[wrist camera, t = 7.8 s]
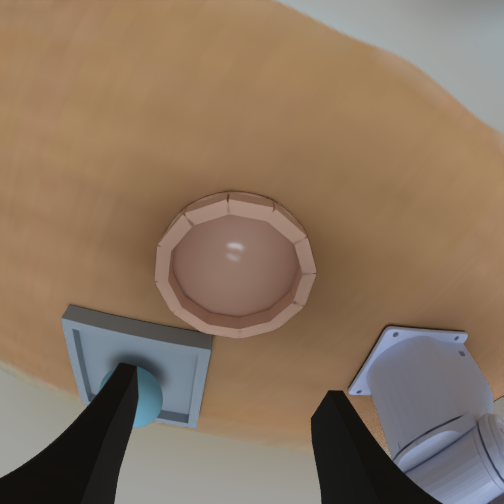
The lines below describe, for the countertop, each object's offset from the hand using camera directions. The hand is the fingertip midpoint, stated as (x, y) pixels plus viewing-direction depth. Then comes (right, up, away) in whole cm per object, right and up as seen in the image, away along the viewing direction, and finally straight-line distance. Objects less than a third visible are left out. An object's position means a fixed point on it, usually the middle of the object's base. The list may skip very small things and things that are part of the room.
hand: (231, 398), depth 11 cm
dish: (0, +5, +9) cm, 10 cm away
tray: (-9, -4, +13) cm, 16 cm away
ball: (-8, -4, +13) cm, 16 cm away
